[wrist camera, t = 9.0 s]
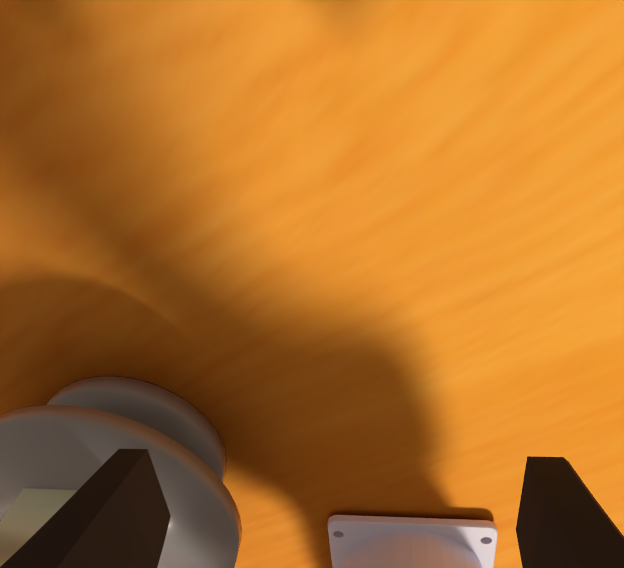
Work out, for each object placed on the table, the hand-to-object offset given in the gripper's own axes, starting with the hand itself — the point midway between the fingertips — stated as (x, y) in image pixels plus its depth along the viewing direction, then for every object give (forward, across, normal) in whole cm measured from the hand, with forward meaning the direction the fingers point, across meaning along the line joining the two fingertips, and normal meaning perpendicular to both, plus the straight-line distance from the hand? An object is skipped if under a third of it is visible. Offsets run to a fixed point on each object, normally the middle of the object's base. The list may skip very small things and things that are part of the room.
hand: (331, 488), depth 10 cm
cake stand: (+10, +11, +10) cm, 18 cm away
